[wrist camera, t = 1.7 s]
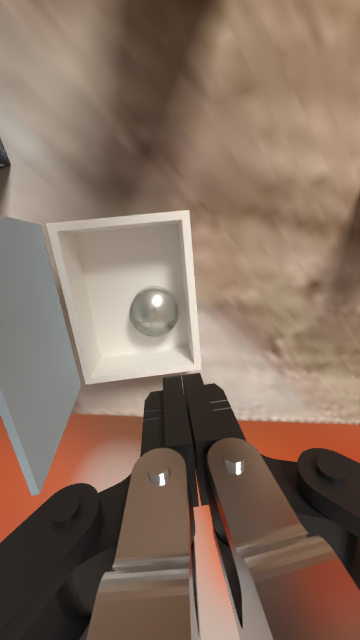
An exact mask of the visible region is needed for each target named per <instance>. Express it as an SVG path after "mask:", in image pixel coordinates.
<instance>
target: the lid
mask: <svg viewBox="0 0 360 640" xmlns="http://www.w3.org/2000/svg"><path fill="white" fill-rule="evenodd" d="M80 389H81V383H80V379H79V375H78V371H77V367H76V363H75V359H74V355H73V351H72V347H71V343H70V339H69V335H68V331H67V327H66V323H65V319H64V316H63V312H62V308H61V304H60V300H59V296H58V292H57V288H56V284H55V280H54V276H53V272H52V268H51V264H50V260H49V256H48V252H47V248H46V244H45V240H44V236H43V232H42V228H41V225H39V224H35V223H30V222H26V221H22V220H18V219H14V218H10V217H5V216H1V215H0V415H1V417H2V420H3V423H4V425H5V428H6V430H7V433H8V436H9V438H10V441H11V443H12V446H13V449H14V451H15V454H16V456H17V459H18V462H19V464H20V467H21V469H22V472H23V474H24V477H25V480H26V482H27V485H28V488H29V490H30V493H31V495H32V496H33V495H38V494H40V492H41V490H42V487H43V485H44V482H45V479H46V477H47V474H48V472H49V469H50V466H51V464H52V461H53V459H54V456H55V453H56V451H57V448H58V446H59V443H60V441H61V438H62V435H63V433H64V430H65V428H66V425H67V423H68V420H69V417H70V415H71V412H72V410H73V407H74V404H75V402H76V399H77V397H78V394H79V391H80Z"/></svg>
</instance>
